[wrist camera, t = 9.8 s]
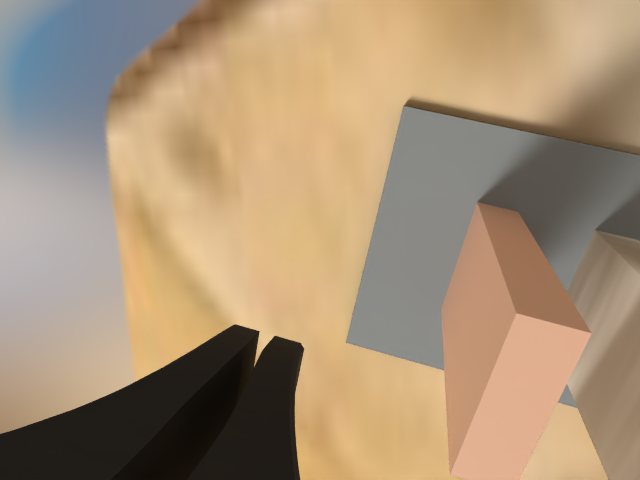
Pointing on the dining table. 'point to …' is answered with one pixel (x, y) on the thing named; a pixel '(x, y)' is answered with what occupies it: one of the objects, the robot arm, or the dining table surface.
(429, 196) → the slate runway mat
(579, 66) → the dining table surface
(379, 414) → the dining table surface
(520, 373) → the terracotta domino
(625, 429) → the wooden block
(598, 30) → the dining table surface
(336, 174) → the dining table surface
